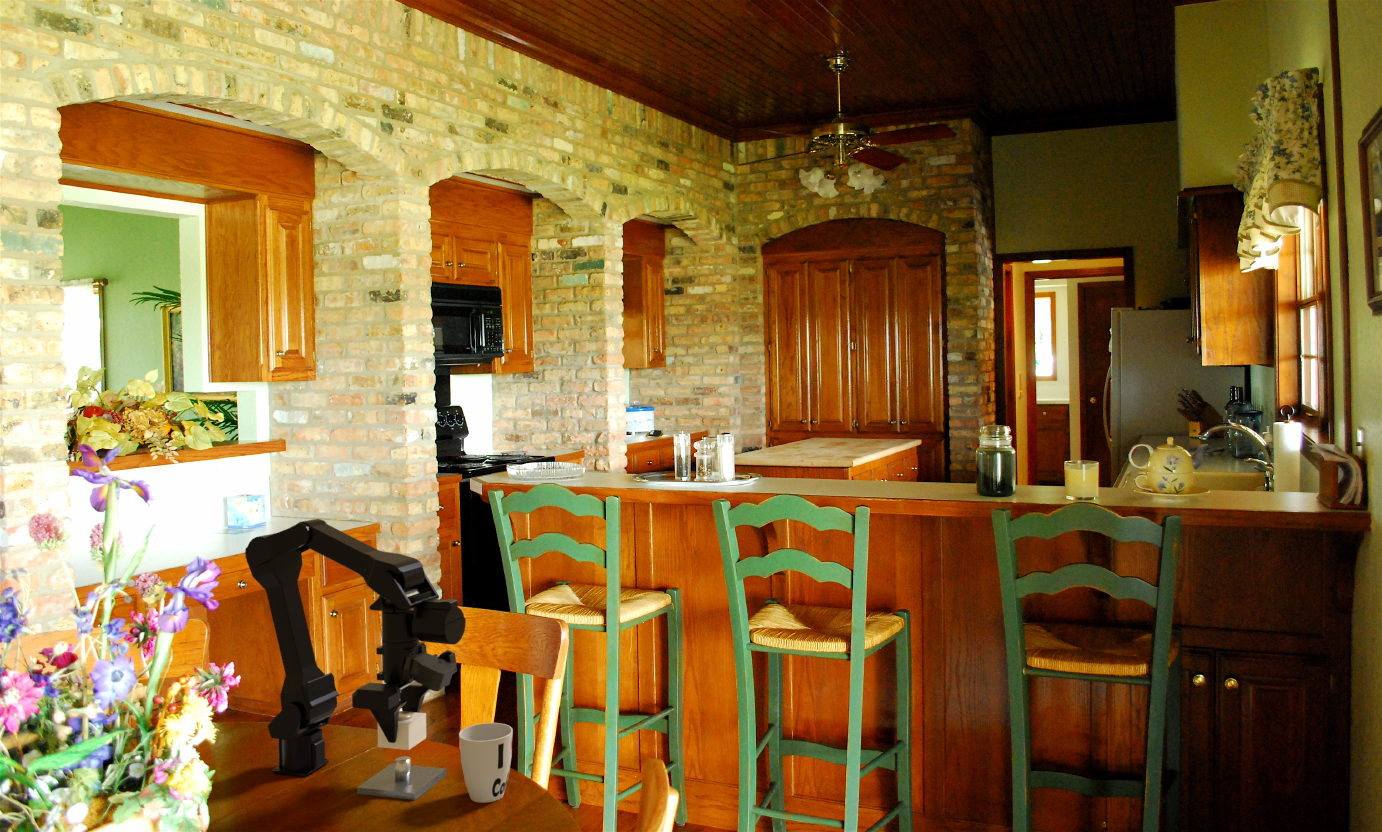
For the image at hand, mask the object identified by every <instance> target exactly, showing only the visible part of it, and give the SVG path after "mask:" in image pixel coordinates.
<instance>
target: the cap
mask: <svg viewBox="0 0 1382 832" xmlns="http://www.w3.org/2000/svg"><path fill="white" fill-rule="evenodd" d="M426 738H427V713H426V712H420V713H416V712H405V711H402V710H399V718H398V729H397V737H396V742H395V743H389V742H388V740H387V738H386V737H385V735H384V733H383V731H382V729H381V727H380V726H379V724H378V723H377V748H383V749H384V748H385V749H394V750H395V749H396V750H404V751H409V750H411V749H412V748H414V747H415V746H417V745H419V743H421V742H422V741H424V740H425V739H426Z"/></svg>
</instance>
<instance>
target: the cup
mask: <svg viewBox="0 0 1382 832" xmlns="http://www.w3.org/2000/svg"><path fill="white" fill-rule="evenodd" d="M513 731H514V730H513V727H511V726H510V725H508V724H505V723H499V722H485V723H477V724H473V725H470V726H467V727H465V728H463V729H461V730H460V731H459V733H458V738H459V750H460V762H461V768H462V772H463V779H464V782H465V783H464V784H465V787H466V789H467V792H468V795H469V798H470V799H471V801H472V802H475V803H484V804H485V803H493V802H496V801H499V800H500V799H502V798H503V797H504V794H505V792H506V789H507V784H508V781H509V777H510V776H509V775H510V770H511V762H512V755H513V754H512V753H513V752H512V751H513V734H514V733H513Z"/></svg>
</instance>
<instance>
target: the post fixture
mask: <svg viewBox="0 0 1382 832" xmlns="http://www.w3.org/2000/svg"><path fill="white" fill-rule="evenodd" d="M447 775H448V774H447V768H445V767H444V768H443V767H434V766H433V767H431V766H423V765H412V763H411V757H410V756H398V757H396V758H394V763H390V764H389V765H387V766H386V767H384V768H383V769H381V770H380V771H378V772H377V773H376V774H374V775H372V777H370V778H368V779H367V780H366V781H365V782H362V783H361V784H360V785H359V786H357V787H356V794H357V795H366V796H372V797H373V796H375V797H383V798H393V799H400V800H401V799H402V800H403V799H404V800H411V801H416V800H417V799H418V798H420V797H421V796H422V795H423V794H424V793H426V792H427V791H428V790H430V789H431V788H432V787H433V786H435V785H436V784H437V783H438V782H440V781H441V780H442V779H443V778H445V777H446V776H447Z"/></svg>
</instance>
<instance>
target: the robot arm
mask: <svg viewBox="0 0 1382 832" xmlns="http://www.w3.org/2000/svg"><path fill="white" fill-rule="evenodd" d="M309 550H312V551H313V552H315V553H317V554H319V555H321V556H323V557H325V558H327V559H329V560H331V561H333V562H335V563H337V564H339V565H340V566H342V567H345V568H346V569H348V570H349V571H352V572H354V573H355V574H357V575H359V576H360V577H362V578H363V580H364V582H365V583H366V586H367V587H368V588H370V590H372V591H373V592H374V593H376V594H377V595H378V598H377V599H376V600H375V601H374V602H373V603H372V604H370V605H369V607H368V608H369V610H370V611H378V612H381V645H380V646H378V647H376V648H375V649H376V650H375V651H376V655H380V656H381V666H382V667H381V671H379V672H377V673H376V681H383V682H384V683H383V682H382V683H381V682H368V683H366V684H364V685H362V686H361V687H358V688H357V689H356V690H354V692H353V693H352V694H351V705H352V706H351V707H352V708H353V709H360V710H361V709H362V710H369V711H370V712H371V714H372V716H373V717H374V718H375V720H376V722H377V725H378V724H379V726H380V727H381V729H382V731H383V733H384V735H385V737H386V738H387V740H388V742H389V743H395V742H396V737H397V729H398V718H399V711H405V712H416V713H421V708H422V706H423V702H424V699H425V696H426V695H427V694H428V693H429V691H431V692H432V691H433V692H439V691H441V690H442V689H443V688H445V687H448V686H449V685H450V683H451V680H452V677H453V674H455V673H456V672H458V668H457V664H458V663H457V660H456V653H455V652H453V651H452V650H449V649H447V650H445V651H442V653H440V654H439V655H438V654H436V653H435V654H431V653H427V652H428V651H427V645H426V644H425V643H433V644H444V645H457V644H458V643H459V642H460V641H461V639H462V638H463V636H464V633H465V631H466V625H467V624H466V623H467V622H466V621H467V620H466V619H467V618H466V617H465V616H464V615H465V614H464V612H463V610H462V609H461V608H460V607H459V606H458V600H457V599H454V598H449V599H441V598H439V597H440V595H439V594H438V592H437V590H436V588H435V587H434V586H433V584H432V582H431V581H430V579H429V578H428V576H427V574H426V573H425V570H424V565H423V563H422V561H420V560H419V559H417V558H414V557H413V556H412V557H411V556H409V555H405V554H402V553H398V552H395V553H394V552H389V551H388V552H387V551H382V550H379V549H376V548H375V547H373V546H371V545H368V544H367V543H365V542H362V540H359V539H357V538H356V537H353V536H352V535H349V534H347V533H345V532H343V531H341V530H339V529H337V528H335V527H333V526H332V525H329V524H328V523H327V522H326V521H325V520H323V519H321V518H313V519H309V520H304V521H298V522H297V523H296V524H294V525H292V526H290V527H288V528H286V529H283V530H281V531H279V532H275V533H269V534H265V535H260V536H256V537H253V538H252V539H251V540H250V541H249V542H248V545H247V547H246V548H245V552H244V555H245V559H246V560H245V561H246V563H247V566H248V569H249V570H250V574H251V575H252V578H253V579H254V580H255V581H256V582H257V583H258V584H259V585H260V586H261V587H262V588H263V589H264V590H265V593H266V596H267V600H268V605H269V609H270V615H271V618H272V622H273V626H274V627H273V628H274V631H275V635H276V640H277V644H278V649H279V652H280V657H281V660H282V664H283V670H284V674H285V675H284V681H283V684H282V687H281V692H280V694H279V695H280V707H281V710H280V712H279V713H278V714H276V716H275V717H274V718H273V719H272V721H270V722H269V724H268V725H267V728H268V732H269V735H270V737H271V738H272V739H276V740H277V742H278V766H276V767H275V768H273V769H272V773H273V774H279V775H280V774H282V775H291V776H300V777H307V776H308V775H310V774H312V773H314V772H315V771H317V770H318V769H320V768H322V767H323V766H325V765H326V764H328V763H329V762H330V760H329V758H326V744H325V743H326V742H325V741H326V740H325V738H324V737H323V735H324V734H323V728H322V727H325V726H328V725H329V724H330V722H331V719H332V715H333V714H334V712H335V710H336V708H338V699H337V697H339V696H340V694H339V692H338V690H337V688H336V683H335V675H334V674H333V673H332V672H330V673H327V674H325V673H324V671H323V670H322V669H321V668H320V667H319V666H318V664H317V661H316V656H315V652H314V648H313V644H312V640H311V635H310V634H311V633H310V630H309V627H308V626H309V625H308V623H307V618H306V614H305V609H304V605H303V600H302V597H301V593H300V589H299V583H298V582H299V577H300V574H301V571H302V567H303V558H302V557H303V553H305V552H307V551H309ZM416 592H417V593H416ZM413 593H415V594H413ZM411 594H413V595H411Z"/></svg>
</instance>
